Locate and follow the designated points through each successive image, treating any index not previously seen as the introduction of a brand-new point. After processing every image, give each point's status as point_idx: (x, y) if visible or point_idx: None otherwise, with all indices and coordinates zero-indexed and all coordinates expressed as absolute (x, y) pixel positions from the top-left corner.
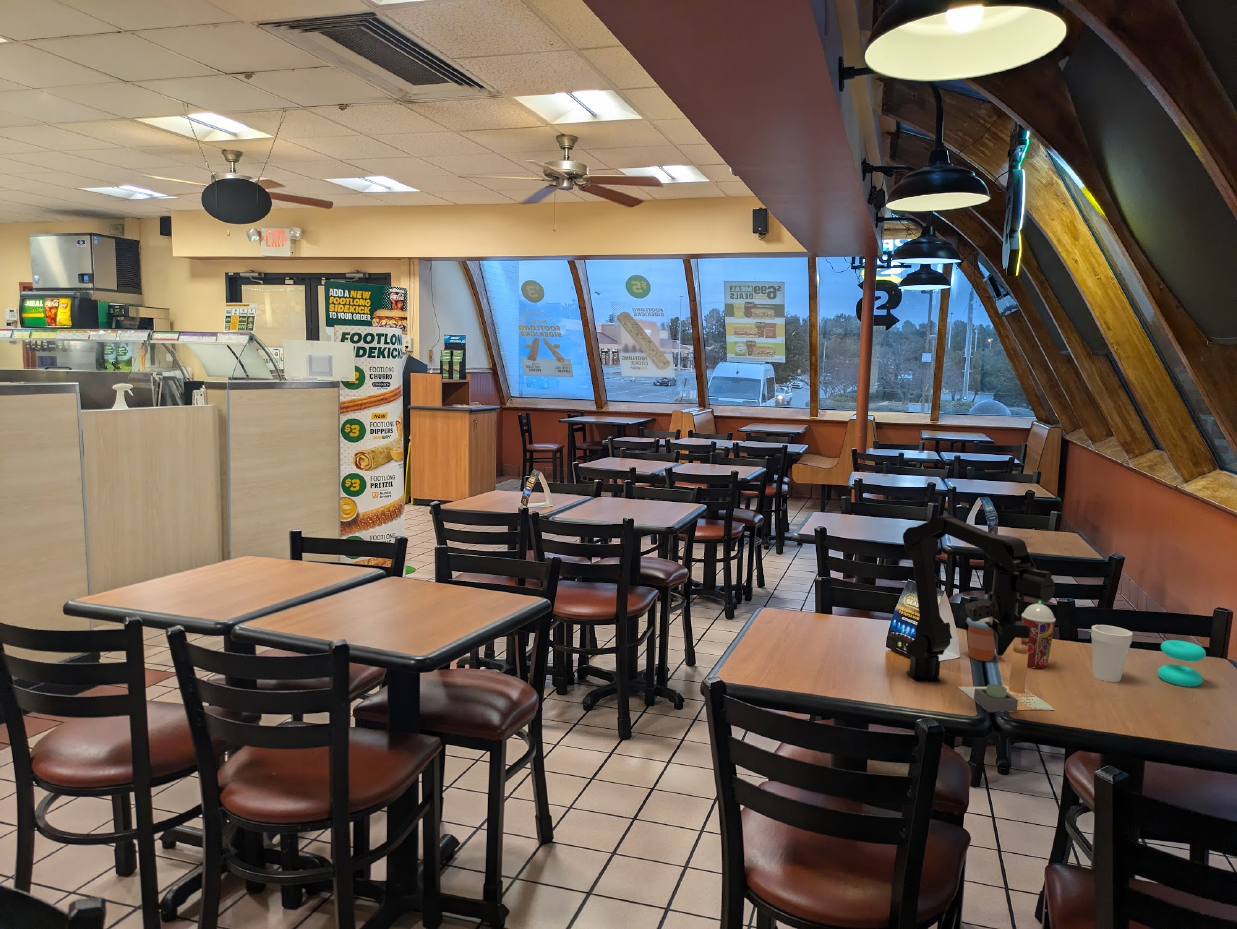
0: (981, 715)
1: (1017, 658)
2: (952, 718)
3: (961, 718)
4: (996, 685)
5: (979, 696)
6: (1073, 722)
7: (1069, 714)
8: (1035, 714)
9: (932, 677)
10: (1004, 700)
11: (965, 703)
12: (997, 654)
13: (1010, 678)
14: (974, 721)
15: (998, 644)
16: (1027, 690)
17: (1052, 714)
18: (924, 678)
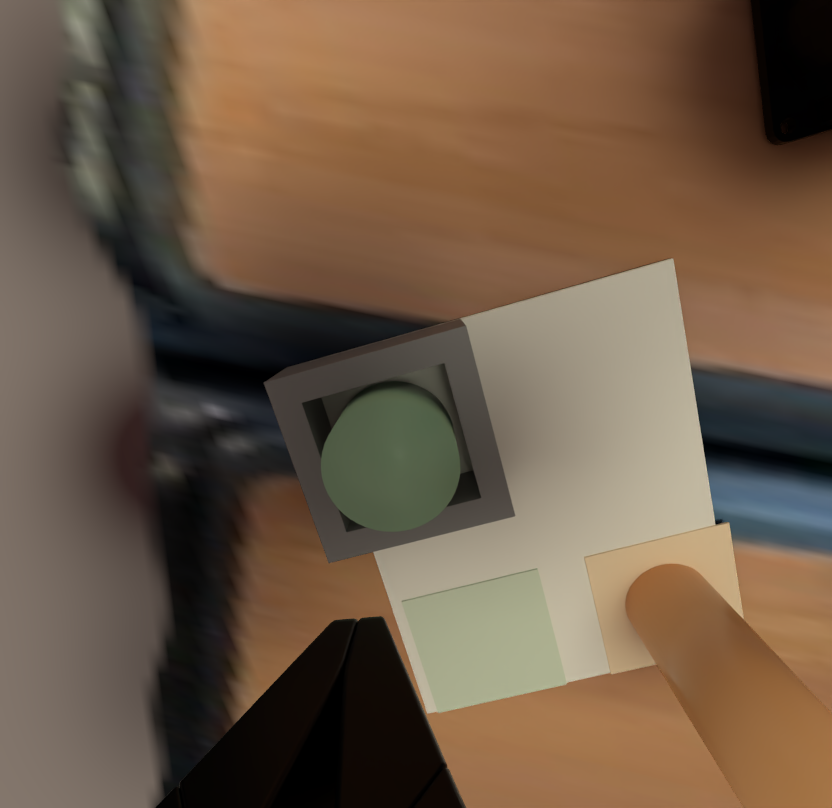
0: (218, 314)
1: (771, 776)
2: (90, 110)
3: (116, 173)
4: (439, 477)
5: (395, 342)
6: None
7: None
8: (343, 607)
9: (799, 73)
10: (300, 479)
11: (391, 253)
12: (337, 622)
13: (703, 609)
14: (100, 249)
15: (192, 776)
16: None
17: None
18: (780, 2)
